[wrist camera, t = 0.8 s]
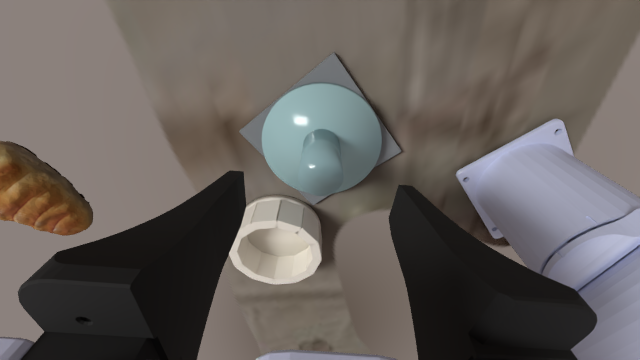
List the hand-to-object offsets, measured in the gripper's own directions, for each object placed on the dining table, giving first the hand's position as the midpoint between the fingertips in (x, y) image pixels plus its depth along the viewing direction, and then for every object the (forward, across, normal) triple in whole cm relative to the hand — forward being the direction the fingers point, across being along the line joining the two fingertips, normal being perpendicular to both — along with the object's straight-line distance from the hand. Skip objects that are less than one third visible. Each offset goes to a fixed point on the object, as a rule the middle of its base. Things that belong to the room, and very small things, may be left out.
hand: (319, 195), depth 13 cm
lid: (+9, 0, +1) cm, 9 cm away
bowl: (+9, +3, +11) cm, 15 cm away
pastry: (+10, +25, +8) cm, 28 cm away
